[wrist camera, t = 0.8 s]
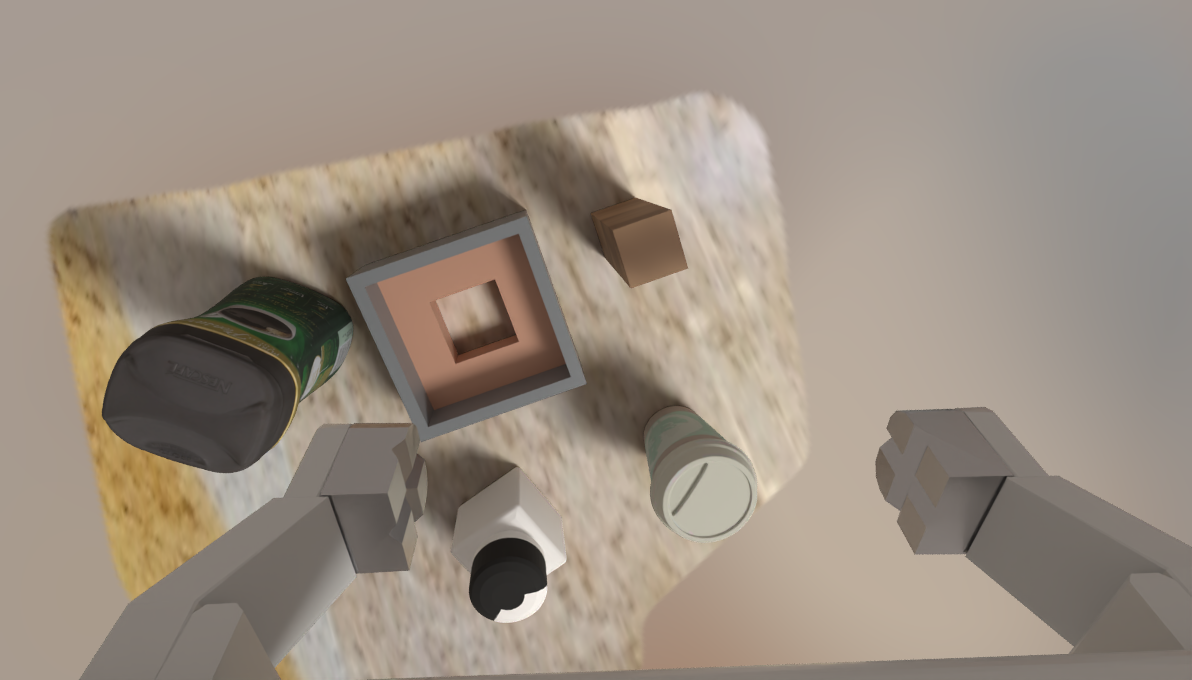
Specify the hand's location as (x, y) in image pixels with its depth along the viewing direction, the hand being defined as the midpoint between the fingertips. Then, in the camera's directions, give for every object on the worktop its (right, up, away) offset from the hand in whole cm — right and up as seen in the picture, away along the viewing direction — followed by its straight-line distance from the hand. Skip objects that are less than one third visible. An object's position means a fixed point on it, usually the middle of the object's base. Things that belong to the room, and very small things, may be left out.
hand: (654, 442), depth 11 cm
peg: (+1, +11, +42) cm, 44 cm away
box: (-11, +4, +43) cm, 44 cm away
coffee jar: (-26, +3, +41) cm, 49 cm away
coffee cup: (+6, -7, +48) cm, 49 cm away
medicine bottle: (-9, -15, +49) cm, 51 cm away
